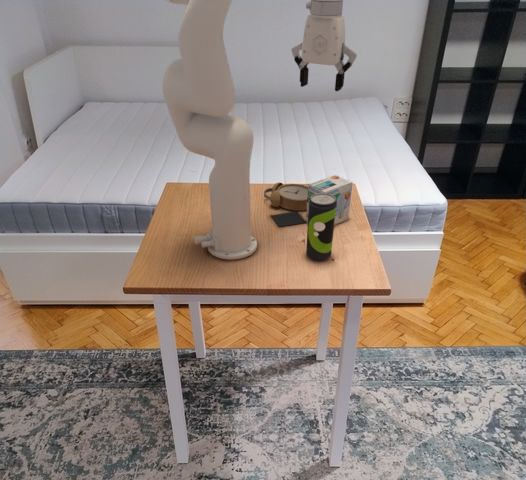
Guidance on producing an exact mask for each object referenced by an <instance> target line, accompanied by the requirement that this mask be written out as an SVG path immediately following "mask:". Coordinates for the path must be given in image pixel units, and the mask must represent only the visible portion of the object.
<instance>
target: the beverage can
mask: <svg viewBox="0 0 526 480" xmlns="http://www.w3.org/2000/svg"><path fill="white" fill-rule="evenodd" d="M335 211H336V202H335V197H334V196H333V195H330V194H326V193H318V194H314V195H312V196H311V200H310V201H309V213H308V222H307V231H306V250H305V254H306V256H307V257H308V259H310V260H312V261H315V262H323V261H326V260H328V259H329V258H330V257H332V252H333V241H334V230H335V225H334V221H335Z"/></svg>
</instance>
